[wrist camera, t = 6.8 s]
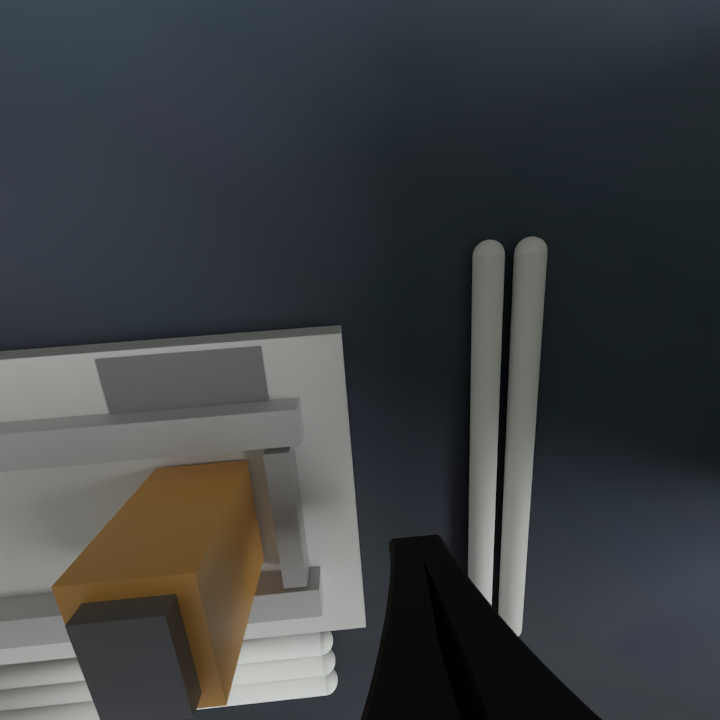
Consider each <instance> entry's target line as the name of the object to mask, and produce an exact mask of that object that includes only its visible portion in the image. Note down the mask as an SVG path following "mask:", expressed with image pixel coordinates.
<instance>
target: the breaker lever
mask: <svg viewBox="0 0 720 720" xmlns="http://www.w3.org/2000/svg"><path fill="white" fill-rule="evenodd" d="M263 561H264V555H263V549H262V543H261V538H260V532H259V526H258V520H257V514H256V508H255V503H254V497H253V491H252V485H251V479H250V474H249V468H248V462H247V461H236V462H225V463H214V464H202V465H191V466H180V467H168V468H157V469H155V470H154V471H153V472H152V473H151V475H150V476H149V477H148V478H147V479H146V480H145V481H144V482H143V484H142V485H141V486H140V487H139V488H138V489H137V490H136V492H135V493H134V494H133V495H132V496H131V497H130V498H129V499H128V501H127V502H126V503H125V504H124V505H123V506H122V507H121V509H120V510H119V511H118V512H117V513H116V514H115V515H114V516H113V518H112V519H111V520H110V521H109V522H108V523H107V524H106V525H105V527H104V528H103V529H102V530H101V531H100V532H99V533H98V535H97V536H96V537H95V538H94V539H93V540H92V541H91V542H90V544H89V545H88V546H87V547H86V548H85V549H84V550H83V552H82V553H81V554H80V555H79V556H78V557H77V558H76V559H75V561H74V562H73V563H72V564H71V565H70V566H69V567H68V568H67V570H66V571H65V572H64V573H63V574H62V575H61V576H60V578H59V579H58V580H57V581H56V582H55V583H54V584H53V585H52V587H51V589H52V591H53V594H54V597H55V599H56V602H57V605H58V607H59V610H60V613H61V615H62V618H63V621H64V623H65V628H66V631H67V634H68V636H69V639H70V641H71V644H72V647H73V649H74V652H75V655H76V657H77V660H78V663H79V665H80V668H81V671H82V673H83V676H84V679H85V681H86V684H87V686H88V689H89V692H90V694H91V697H92V700H93V702H94V705H95V708H96V710H97V713H98V716H99V718H100V720H184V719H193V718H194V716H195V713H196V710H197V708H206V707H215V706H225V705H227V702H228V698H229V694H230V690H231V686H232V682H233V678H234V674H235V670H236V666H237V662H238V658H239V655H240V651H241V647H242V643H243V639H244V635H245V631H246V627H247V623H248V619H249V615H250V611H251V608H252V604H253V600H254V596H255V592H256V588H257V584H258V580H259V576H260V572H261V568H262V564H263Z"/></svg>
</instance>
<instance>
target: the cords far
mask: <svg viewBox="0 0 720 720" xmlns="http://www.w3.org/2000/svg"><path fill="white" fill-rule="evenodd" d="M332 644H333V636H332V633H331V632H330V631H324V632H315V633H305V634H295V635H286V636H276V637H267V638H257V639H247V640H243V643H242V647H241V651H240V655H239V658H238V662H237V666H236V670H235V674H234V678H233V682H232V686H231V690H230V694H229V698H228V702H227V705H225V706H234V705H243V704H252V703H261V702H270V701H280V700H289V699H298V698H307V697H316V696H325V695H330V694H331V693H333V692H334V690H335V689H336V686H337V682H338V678H337V673H336V671H335V670H334V666H335V655H334V653H333V651H332V650H331V647H332ZM225 706H215V707H206V708H197V710H198V709H207V708H216V707H225ZM0 720H100V718H99V716H98V713H97V710H96V708H95V705H94V702H93V700H92V697H91V694H90V692H89V689H88V686H87V684H86V681H85V679H84V676H83V673H82V671H81V668H80V665H79V663H78V660H77V657H74V658H65V659H55V660H46V661H36V662H26V663H17V664H7V665H0Z"/></svg>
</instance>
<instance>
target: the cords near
mask: <svg viewBox="0 0 720 720" xmlns="http://www.w3.org/2000/svg"><path fill="white" fill-rule="evenodd" d="M547 252H548V251H547V245H546V243H545V242H544V241H543V240H542V239H541V238H538V237H527V238H524V239H523V240H521V241H520V242H519V243H518V244H517V246H516V247H515V250H514V264H513V286H512V309H511V332H510V354H509V377H508V400H507V422H506V445H505V468H504V490H503V513H502V536H501V559H500V581H499V604H498V614H499V615H500V616H501V618H502V619H503V620H504V621H505V622H506V623H507V624H508V626H509V627H510V628H511V629H512V630H513V631H514V632H515V633H516V635H517V636H519V635H520V634H521V631H522V620H523V605H524V590H525V576H526V561H527V546H528V532H529V517H530V502H531V487H532V473H533V458H534V443H535V429H536V414H537V399H538V384H539V370H540V355H541V340H542V326H543V311H544V296H545V281H546V267H547ZM504 265H505V251H504V248H503V246H502V245H501V243H499V242H498V241H496V240H485V241H482V242H481V243H479V244H478V245H477V246H476V247H475V249H474V251H473V257H472V325H471V394H470V464H469V533H468V577H469V578H470V579H471V581H472V582H473V583H474V585H475V586H476V587H477V588H478V590H479V591H480V592H481V593H482V595H483V596H484V597H485V598H486V599H487V601H488V602H489V603H490V604H491V606H492V584H493V558H494V531H495V504H496V478H497V451H498V425H499V398H500V371H501V345H502V318H503V292H504Z"/></svg>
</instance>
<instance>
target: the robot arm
mask: <svg viewBox="0 0 720 720" xmlns="http://www.w3.org/2000/svg"><path fill="white" fill-rule="evenodd" d="M389 552H390V570H391V571H390V585H389V593H388V601H387V608H386V615H385V621H384V626H383V631H382V636H381V642H380V647H379V652H378V656H377V661H376V665H375V669H374V673H373V677H372V681H371V685H370V689H369V693H368V697H367V700H366V704H365V707H364V711H363V714H362V718H361V720H602V719H601V718H600V717H598V716H597V715H596V714H595V713H594V712H593V711H592V710H591V709H590V708H589V707H588V706H587V705H585V704H584V703H583V702H582V701H581V700H580V699H579V698H578V697H577V696H576V695H575V694H574V693H573V692H572V691H571V690H570V689H569V688H568V687H567V686H566V685H564V684H563V683H562V682H561V681H560V680H559V679H558V678H557V677H556V676H555V675H554V674H553V673H552V672H551V671H550V670H549V669H548V668H547V667H546V666H545V665H544V664H543V662H542V661H541V660H540V659H539V658H538V657H537V656H536V655H535V654H534V653H533V652H532V651H531V650H530V649H529V648H528V647H527V646H526V644H525V643H524V642H523V641H522V640H521V639H520V638H519V637H518V636H517V635H516V633H515V632H514V631H513V630H512V629H511V628H510V627H509V626H508V624H507V623H506V622H505V621H504V620H503V619H502V618H501V616H500V615H499V614H498V613H497V612H496V610H495V609H494V608H493V607H492V606H491V604H490V603H489V602H488V601H487V599H486V598H485V597H484V596H483V595H482V593H481V592H480V591H479V590H478V588H477V587H476V586H475V585H474V583H473V582H472V581H471V579H470V578H469V577H468V575H467V574H466V573H465V571H464V570H463V569H462V567H461V566H460V565H459V563H458V562H457V560H456V559H455V558H454V556H453V555H452V553H451V552H450V550H449V549H448V547H447V546H446V544H445V543H444V541H443V540H442V538H441V537H440V536H439V535H427V536H417V537H406V538H396V539H392V540H391V541H390V542H389Z"/></svg>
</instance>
